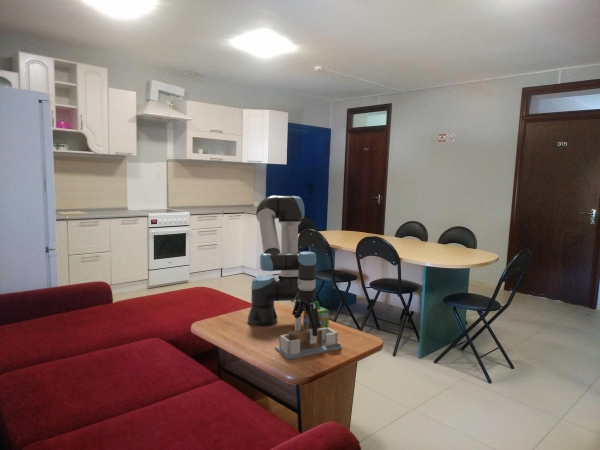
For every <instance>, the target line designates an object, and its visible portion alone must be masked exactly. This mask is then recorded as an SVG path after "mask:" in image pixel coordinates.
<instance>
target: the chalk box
mask: <svg viewBox="0 0 600 450" xmlns="http://www.w3.org/2000/svg"><path fill="white" fill-rule="evenodd" d="M315 303H316V304H317V311H318V316H319V321H320V326H321V327H320V328H326V327H329V322H330V321H329V319H330V310H329V309H327V308H325V307H322V306H320V301H319V300H317V301H316V300H315V301H313V304H315ZM302 319H303V320H302V321H303V322H302V325H303V326H302V330H305V329H310V328H311V324H310V321H309V317H308V314H307V313H306V311H303V318H302ZM320 328H319V329H320Z"/></svg>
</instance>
